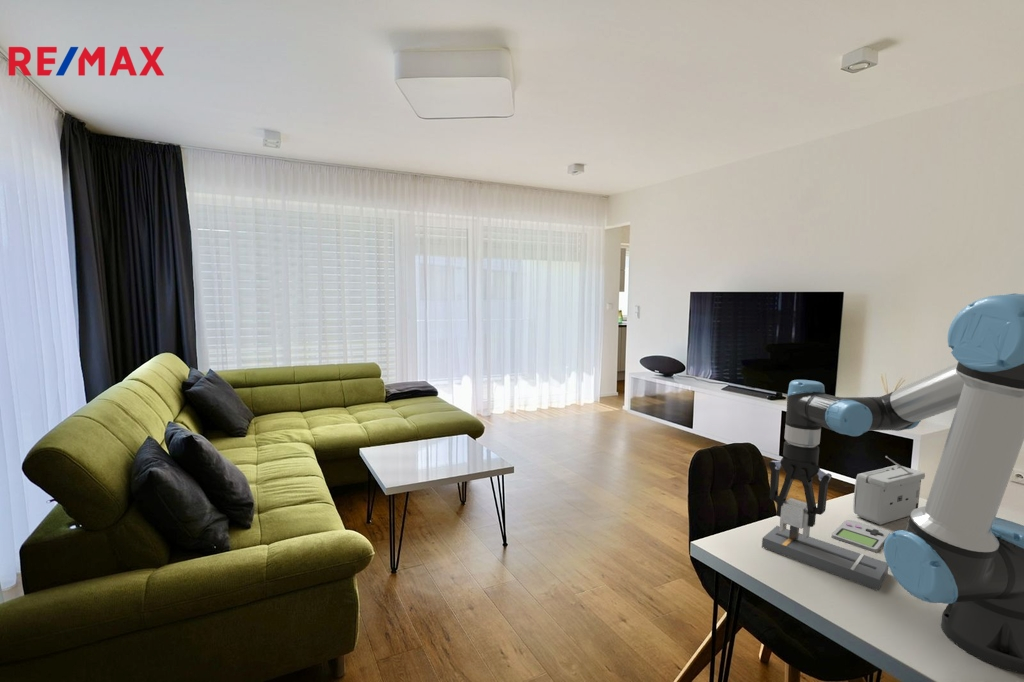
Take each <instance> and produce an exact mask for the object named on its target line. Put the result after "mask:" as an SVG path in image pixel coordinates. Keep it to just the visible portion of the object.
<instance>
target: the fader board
mask: <svg viewBox="0 0 1024 682" xmlns="http://www.w3.org/2000/svg"><path fill="white" fill-rule="evenodd" d="M779 528H780V525H776V526H775V527H774V528H772V529H771V530H770V531H768V533H766V534H765V535H764V536H763V537H762V538H761V539H762V540H761V548H763V547H764V549H765V548H767V549H766V550H768V549H769V551H771V550H772V551H771V552H773V551H774V552H773V553H776V552H777V554H779V555H781V554H782V556H784V555H785V556H784V557H786V558H790V559H793V560H794V561H797V560H798V561H797V562H800V563H804V564H805V563H806V565H807V566H808V565H809V566H811V567H814V568H817V569H820V570H822V571H824V572H827V573H830V574H833V575H835V576H838V577H840V578H842V579H846V580H849V581H850V582H853V583H856V584H860V585H862V586H863V587H867V588H869V589H873V590H875V591H880V588H881V587H882V585H883V583H884V581H885V579H886V578H887V576H888V573H889V566H888V565H887V562H886V561H883V560H880V559H878V558H874V557H871V556H868V555H865V554H863V553H858V552H856V551H853V550H850V549H847V548H845V547H841V546H839V545H835V544H833V543H830V542H826V541H824V540H821V539H818V538H814V537H812V536H809V537H808V538H807V539H806V540H805V539H802V536H803V533H800V532H799V537H798V540H797V541H795V540H792V539H789V534H790V529H788V528H786V529H785V530H784V531H783V532H781V531H779ZM880 586H881V587H880Z"/></svg>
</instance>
